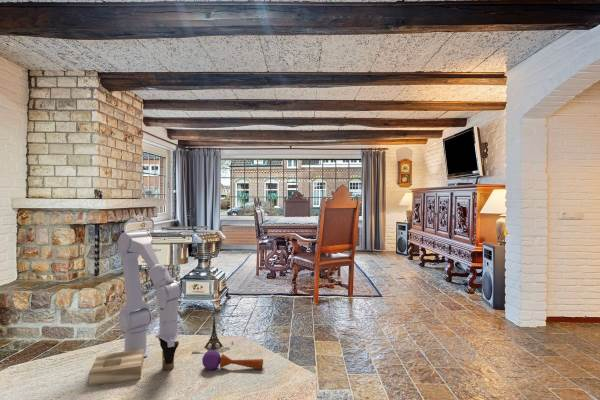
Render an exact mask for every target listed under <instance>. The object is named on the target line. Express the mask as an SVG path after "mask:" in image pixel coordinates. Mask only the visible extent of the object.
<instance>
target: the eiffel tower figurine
mask: <svg viewBox="0 0 600 400" xmlns="http://www.w3.org/2000/svg"><path fill="white" fill-rule="evenodd" d="M217 334H218V333H217V330H216V316H215V315H213V317H212V330H211V335H210V338H209V339H208V341H207V343H206V344H205V346H204V347H203V348H204V349H206V350H208V351H210V350H215V351H217V352H219V354H223V353H226V352H228V351H230V350H231V347H227V346H226V347H224V345H223V344H222V342H221V341H220V339H219V338H218V337H219V336H218V335H217ZM231 346H234V341H231ZM191 354H193V355H195V354H196V355H198V354H202V352H200V351H197V350H196V351H191Z"/></svg>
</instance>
